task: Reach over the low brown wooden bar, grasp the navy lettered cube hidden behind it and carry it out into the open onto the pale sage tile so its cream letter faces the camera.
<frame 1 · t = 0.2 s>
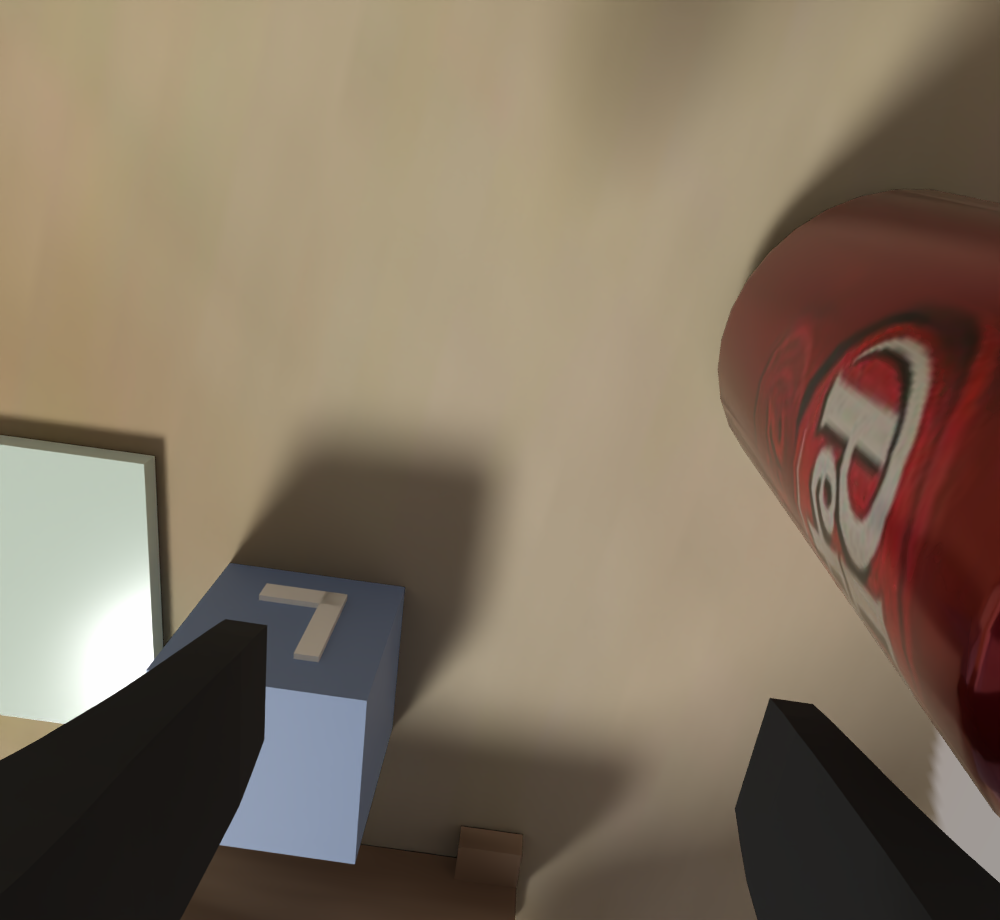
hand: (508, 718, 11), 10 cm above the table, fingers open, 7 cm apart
tile: (7, 578, 23), on the table
brown wooden bar: (305, 850, 26), on the table
cube: (315, 647, 23), on the table
soda can: (861, 344, 19), on the table
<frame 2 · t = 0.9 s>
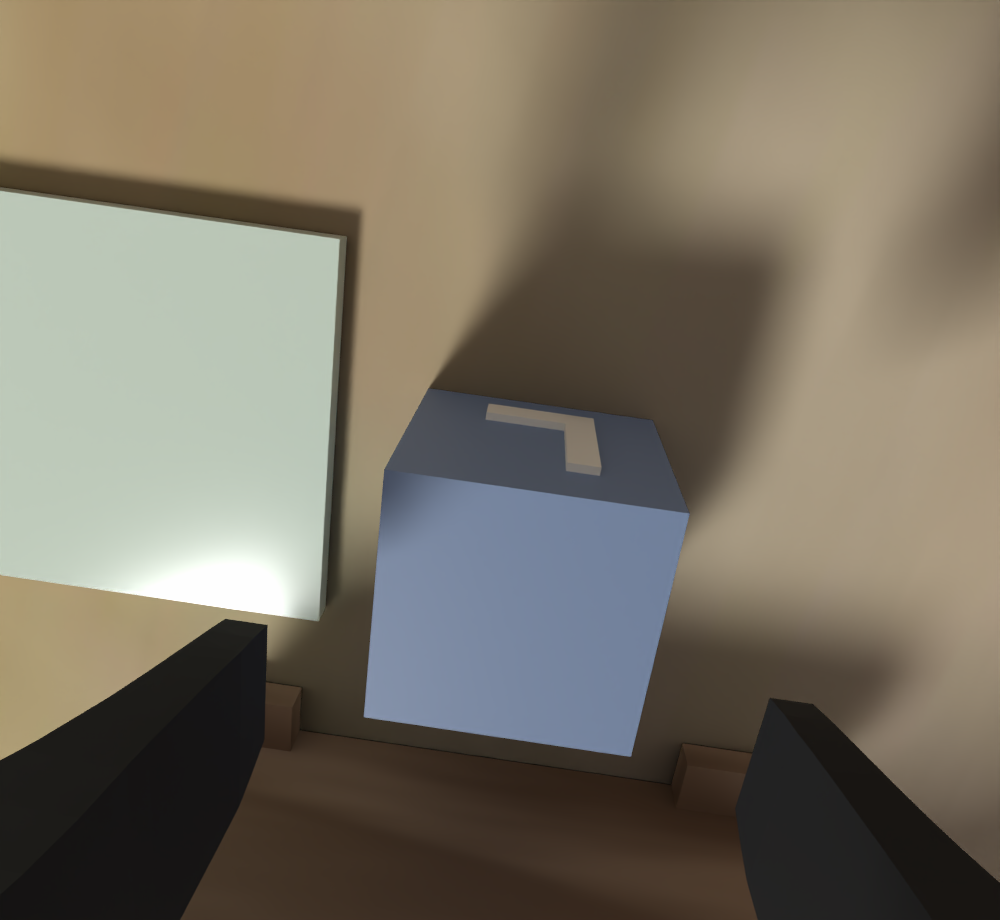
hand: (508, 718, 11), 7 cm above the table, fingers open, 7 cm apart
tile: (140, 411, 18), on the table
brown wooden bar: (482, 775, 21), on the table
cube: (524, 504, 18), on the table
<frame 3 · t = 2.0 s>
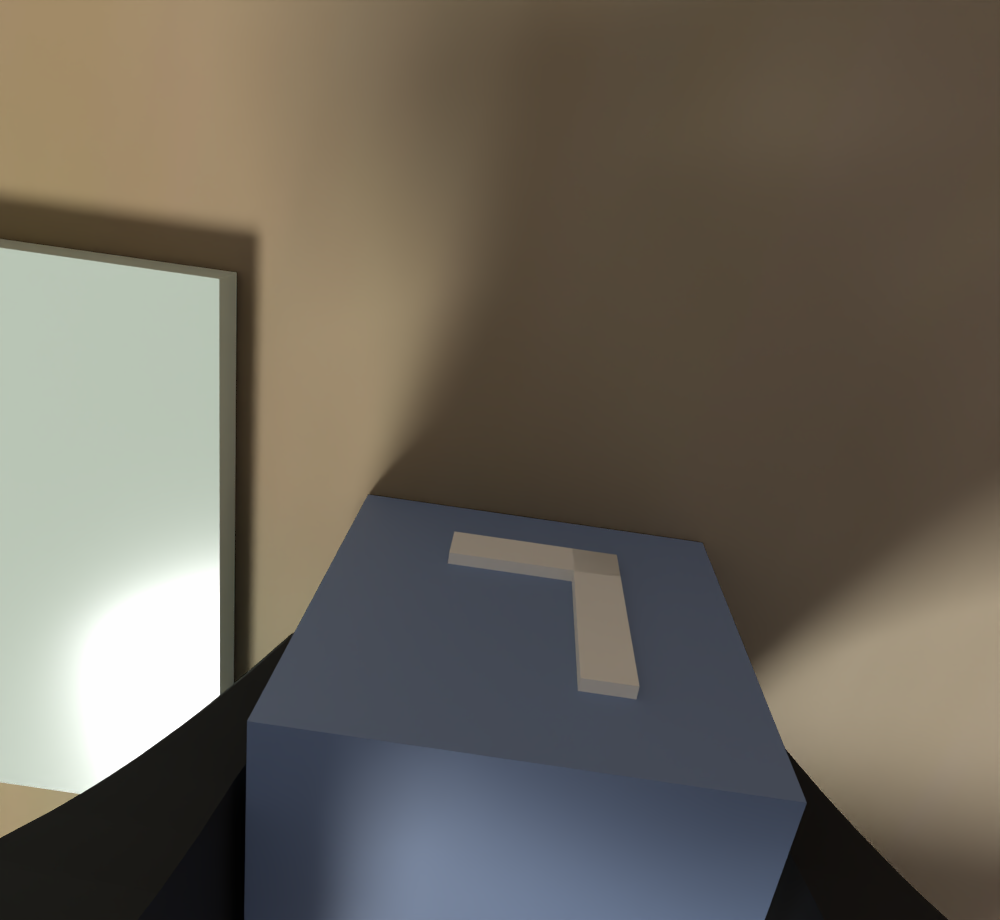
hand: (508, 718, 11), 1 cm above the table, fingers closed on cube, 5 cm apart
cube: (512, 658, 12), on the table, touching gripper
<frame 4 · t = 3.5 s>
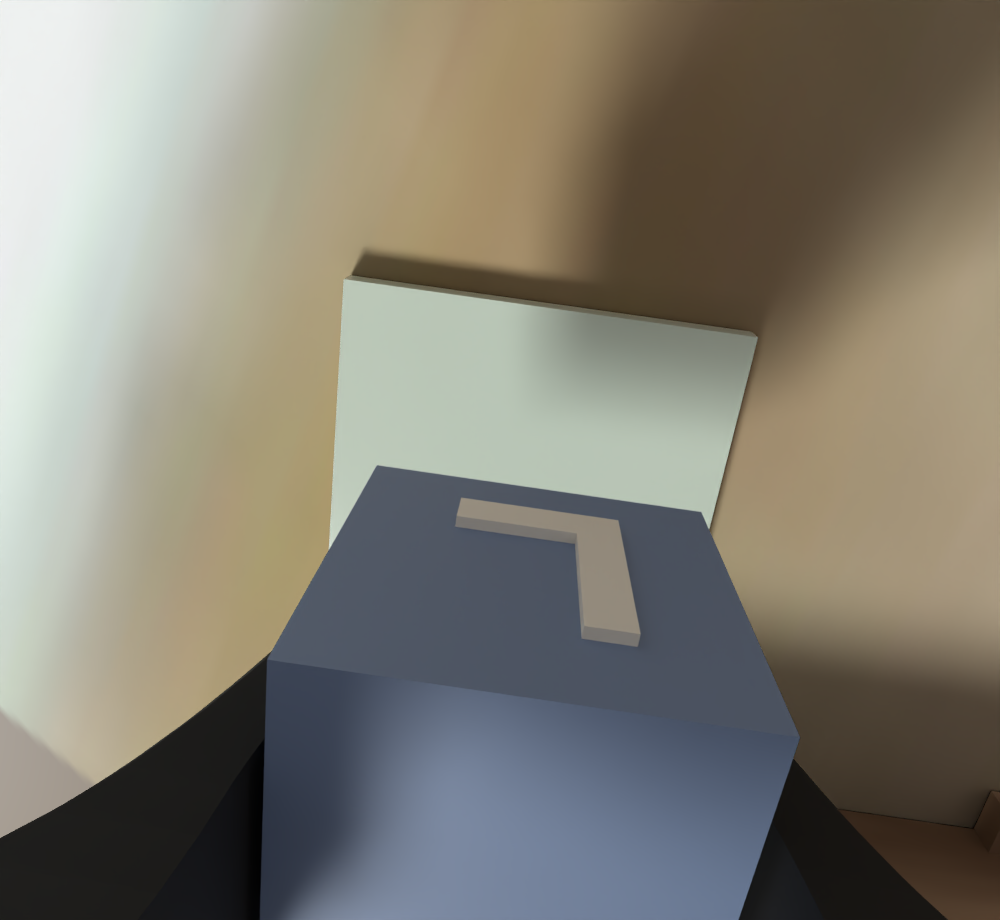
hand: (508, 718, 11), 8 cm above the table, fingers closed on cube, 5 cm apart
tile: (522, 487, 19), on the table
brown wooden bar: (791, 819, 22), on the table
cube: (516, 627, 13), point 7 cm above the table, touching gripper
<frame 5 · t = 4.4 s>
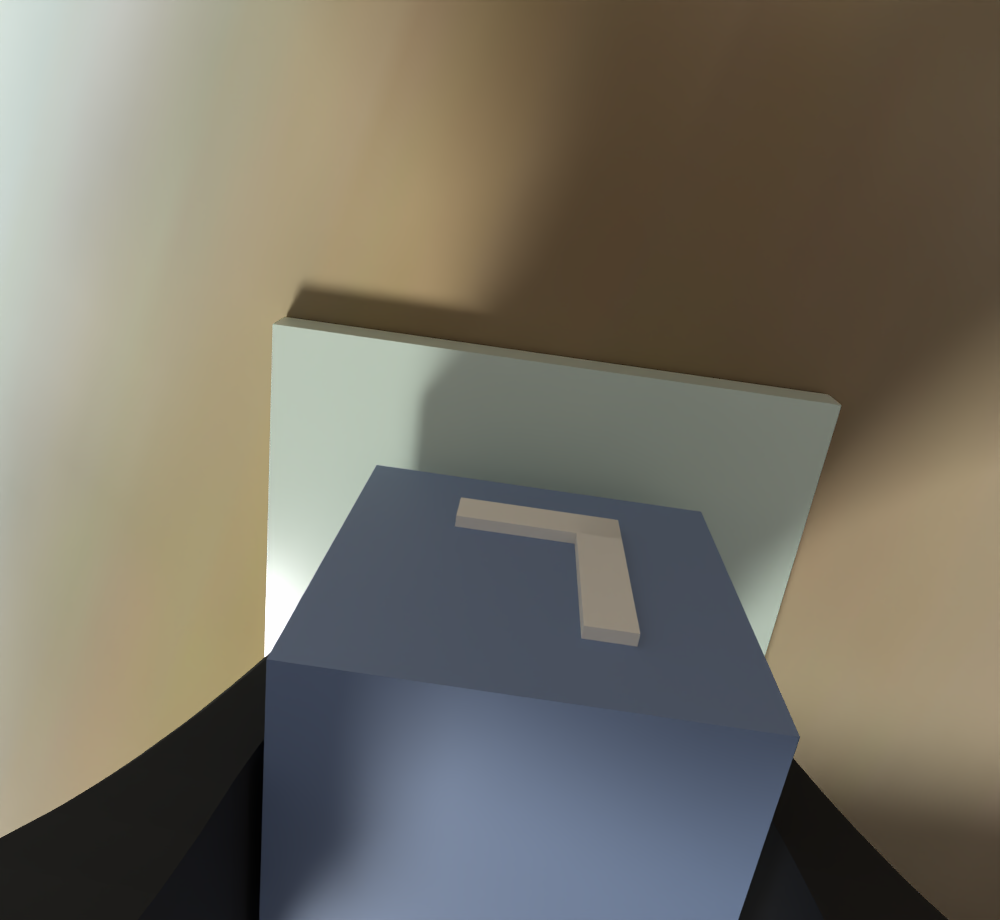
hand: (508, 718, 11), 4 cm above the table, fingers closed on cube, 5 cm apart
tile: (518, 591, 14), on the table
cube: (515, 626, 13), point 2 cm above the table, touching gripper
when the fingers open (3 cm above the table, at t = 5.0 s): cube stays where it is, resting on tile.
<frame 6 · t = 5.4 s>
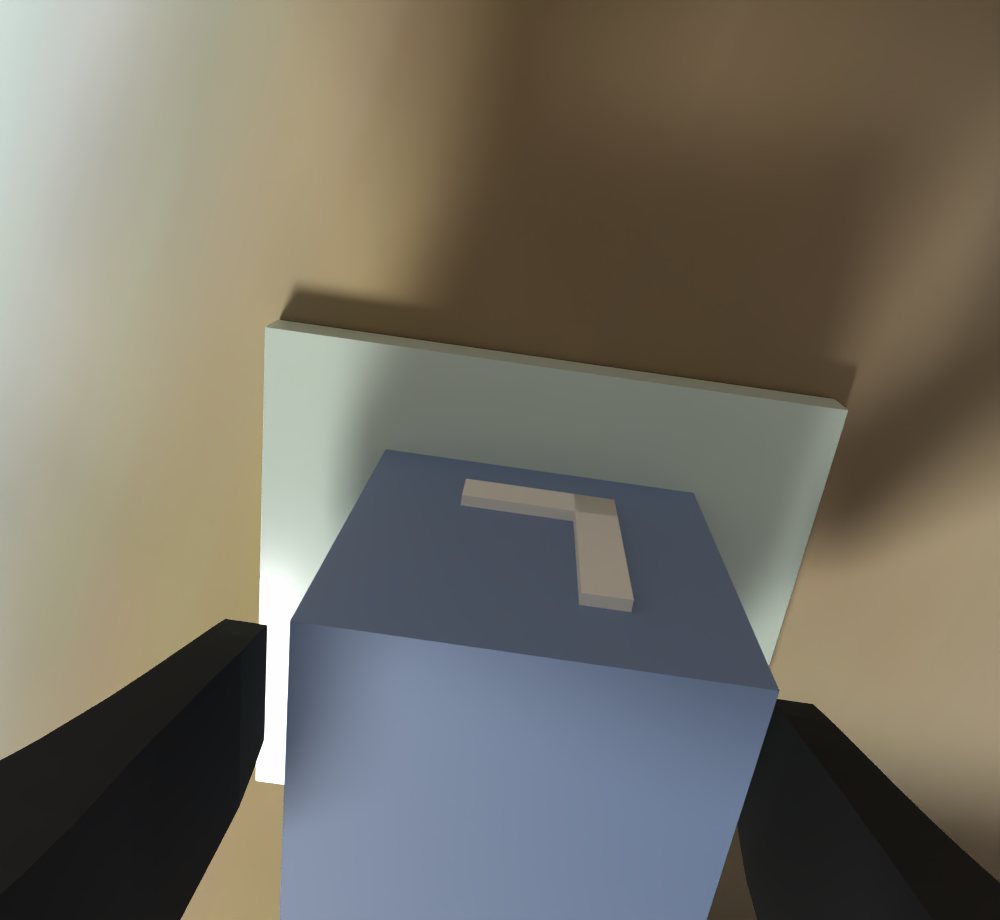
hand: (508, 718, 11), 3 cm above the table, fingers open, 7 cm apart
tile: (516, 600, 14), on the table
cube: (518, 603, 13), point 1 cm above the table, touching tile
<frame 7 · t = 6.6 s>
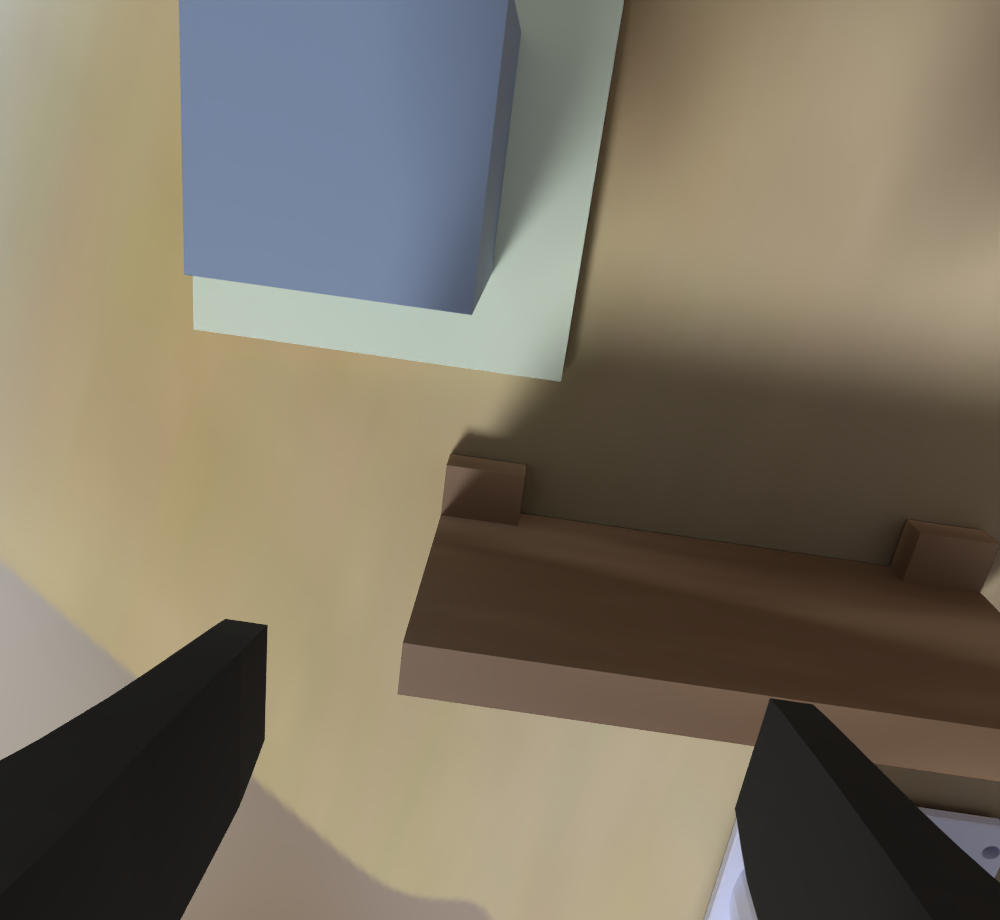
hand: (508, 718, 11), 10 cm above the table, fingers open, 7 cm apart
tile: (396, 158, 18), on the table
brown wooden bar: (699, 559, 21), on the table
cube: (393, 143, 17), point 1 cm above the table, touching tile
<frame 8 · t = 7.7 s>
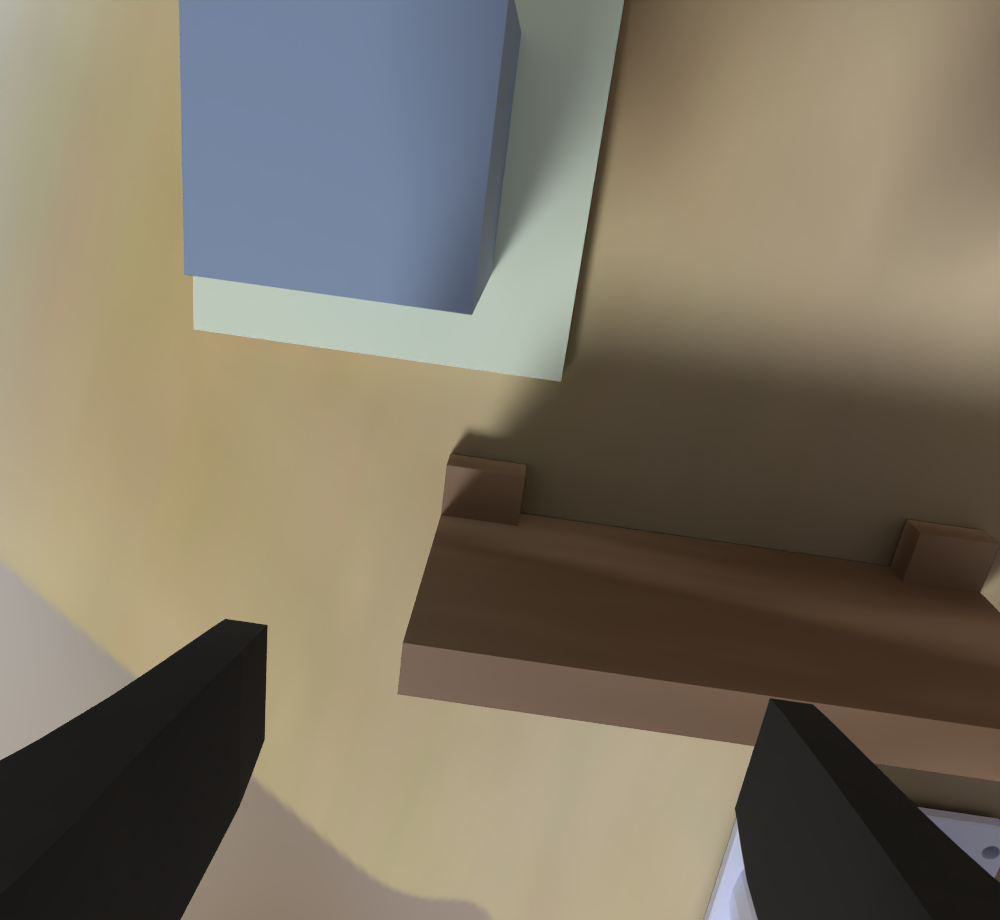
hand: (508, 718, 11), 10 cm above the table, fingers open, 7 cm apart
tile: (396, 158, 18), on the table
brown wooden bar: (699, 559, 21), on the table
cube: (393, 143, 17), point 1 cm above the table, touching tile
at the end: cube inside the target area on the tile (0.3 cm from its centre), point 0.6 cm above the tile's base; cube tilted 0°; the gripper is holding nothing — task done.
